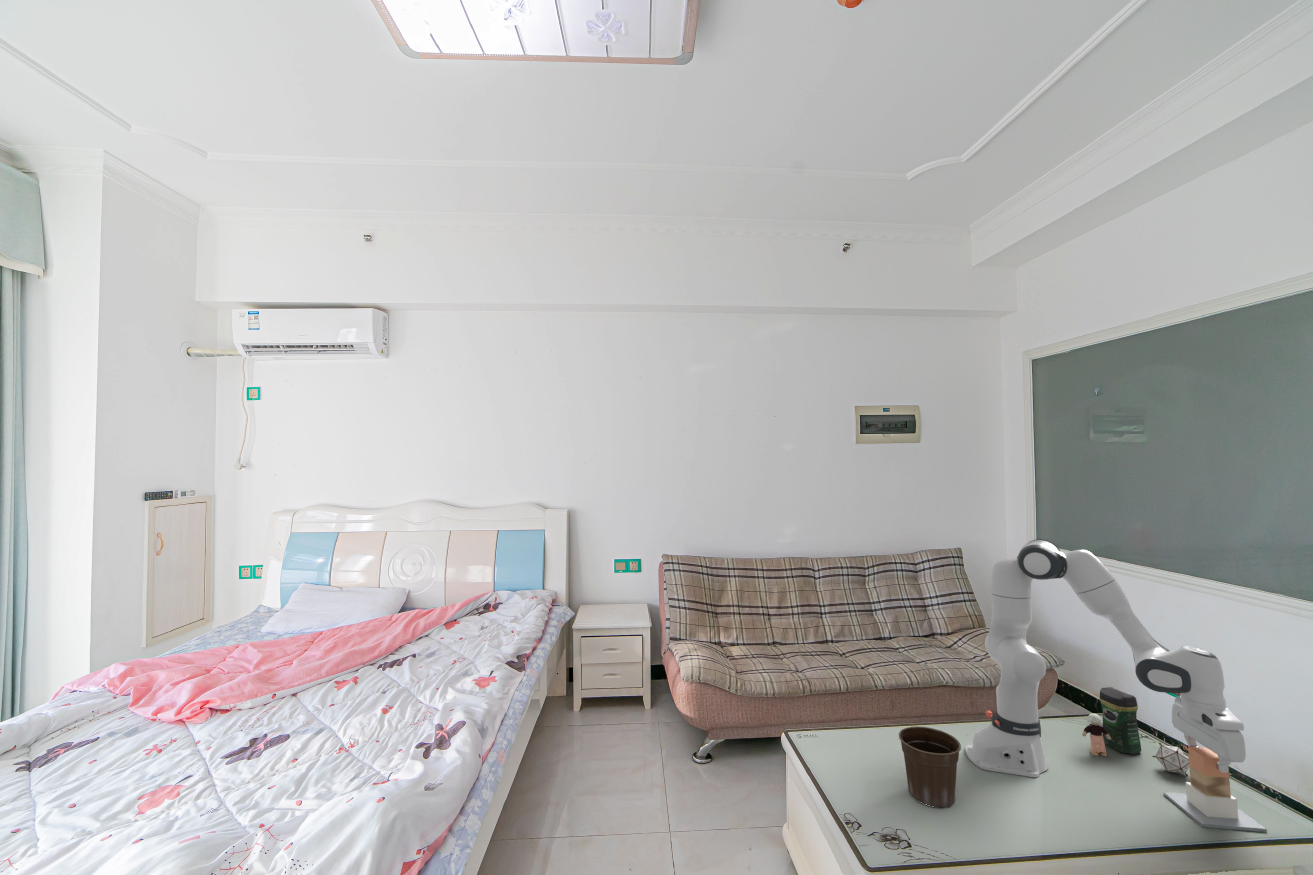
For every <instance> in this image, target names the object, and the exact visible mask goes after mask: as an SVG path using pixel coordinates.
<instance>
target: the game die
mask: <svg viewBox="0 0 1313 875" xmlns="http://www.w3.org/2000/svg"><path fill="white" fill-rule="evenodd" d="M1158 745H1160V746H1159V747H1158V748H1159V749H1158V750H1157V752H1156V755H1152V756H1151V757H1153V758H1155V759H1156V760H1157V761H1158V762H1159V763H1160V764H1161V766H1162V767H1163V768H1164V769H1165V775H1168V774H1169V772H1170V773H1178V774H1184V775H1185V776H1186V777H1189V775H1188V774H1187V772H1188V770H1189V756H1187V755H1186V753H1185V752H1184V751H1183V750H1182V748H1181V744H1177V746H1174V745H1173V746H1172V745H1165V744H1162V743H1161V742H1158Z"/></svg>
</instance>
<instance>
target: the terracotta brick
mask: <svg viewBox="0 0 1313 875" xmlns="http://www.w3.org/2000/svg"><path fill="white" fill-rule="evenodd" d="M1187 749H1188V750H1187V751H1188V758H1189V765H1190V766H1191V767H1193V768H1194V769H1196V770H1197V771H1198V772H1200V773H1201V774H1203V775H1204V776H1209V777H1224V778H1229V779H1230V769H1229V768H1230V767H1229V766H1230V765H1229V766H1228V773H1223V772H1221V771H1219V770H1218V769H1216V763H1219V760H1220V759H1219V758H1218V755H1217V754H1216V753H1214V752H1213V751H1211V750H1210V749H1208V748H1206V747H1205V746H1203V747H1201V746H1198V747H1188V746H1187Z"/></svg>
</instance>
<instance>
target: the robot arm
mask: <svg viewBox="0 0 1313 875" xmlns="http://www.w3.org/2000/svg"><path fill="white" fill-rule="evenodd" d="M1062 578H1063V579H1064V580H1065V581H1066V582H1067V584H1068V585H1069V586H1070V587H1071V589H1072V590H1073V592H1074V594H1076V596H1077V597H1078V598H1079V600H1080V602H1082V603H1083V605H1084V606H1085V607H1086V608H1087V609H1088V610H1090V612H1091V613H1092V614H1094V615H1096V616H1100V617H1102V618H1104V619H1106V620H1107V621H1109V622H1110V623H1111V624H1112V625H1113V626H1114V627H1115V629H1116V630H1117V631H1118V633H1119V634H1120V635H1121V636H1122V638H1123V639H1124V641H1125V642H1126V643H1127V644H1128V646H1129V648H1130V649H1131V651H1132V656H1133V660H1134V668H1135V675H1136V677H1137V680H1138V681H1139V682H1140V683H1141V684H1142V685H1143V686H1144V687H1145V688H1148V689H1149V690H1150V691H1154V692H1157V693H1163V694H1167V693H1169V694H1180V695H1179V696H1176V697H1175V698H1174V703H1173V704H1172V706H1171V723H1172V725H1173V727H1174V728H1175V729H1176V730H1179V731H1180V732H1181V733H1182V734H1183V737H1184V739H1185V741H1186V744H1187V748H1188V747H1199V746H1198V744H1197V743H1199V744H1200V745H1202V746H1203V747H1204V748H1208V749H1210V750H1211V751H1213V752H1214V753H1216V754H1217V755H1218V758H1219V759H1220V760H1219V763H1216V769H1218V770H1219V771H1221V772H1223V773H1228V766H1230V764H1231V763H1244V762H1245V760H1246V757H1247V754H1246V742H1245V738H1244V735H1243V733H1242V731H1244V730H1245V725H1244V722H1242V721H1241V719H1239V718H1238V717H1237V716H1235V715H1234V713H1233V712H1232V711H1231V710H1230V709H1229V708H1228V707H1227V702H1226V699H1225V697H1224V696H1225V695H1224V689H1225V679H1224V678H1225V677H1224V671H1223V667H1222V663H1221V662H1220V660H1219V657H1217V656H1216V655H1215V654H1213V653H1212V652H1211V651H1208V650H1206V649H1203V648H1200V647H1196V646H1192V645H1181V646H1180V647H1178V648H1175V649H1173V650H1170V649H1168V648H1167V647H1165V646H1164V645H1162V644H1160V643H1159V642H1158V641H1157V640H1155V639H1154V638H1153V636H1152V635H1151V634H1150V633H1149V631H1148V630H1147V628H1145V626H1144V625H1143V623H1142V622H1141V621H1140V619H1139V618H1138V617H1137V616H1136V614H1135V613H1134V611H1133V609H1132V606H1131V604H1130V602H1129V599H1128V597H1127V595H1126V593H1125V591H1124V590H1123V588H1122V586H1121V584H1120V583H1119V582H1118V580H1117V579H1116V578H1115V577H1114V575H1113V573H1111V571H1110V570H1109V569H1108V568H1107V567H1106V566H1105V565H1104V564H1103V563H1102V561H1101V560H1100V559H1099V558H1097V556H1095V555H1094V554H1093V553H1092V552H1090V551H1089V550H1087V549H1075V550H1071V551H1069V552H1062V551H1061V549H1060V548H1059V547H1058V545H1056V544H1055V543H1053V542H1052V541H1049V540H1047V539H1041V538H1040V539H1039V538H1038V539H1034V540H1033V539H1032V540H1030V541H1028V542H1027V543H1025V544H1024V545H1023V546H1022V547H1021V549H1020V550H1019V553H1018V555H1017V557H1016V558H1015V559H1003V560H999V561H996V563H995V564H994V565H993V568H992V572H991V578H990V579H991V580H990V582H991V584H990V596H991V599H990V600H991V621H990V626H989V631H988V634H987V635H986V636H985V639H984V646H985V649H986V651H987V653H988V656H990V658H991V659H992V661H993V662H995V663H996V664H998V665H999V668H1000V672H1001V673H1000V679H999V684H997V686H996V688H995V693H996V708H997V709H996V710H997V711H996V712H995V713H993V712H992V711H991V710H986V711H985V715H986V716H987V718H988V719H990V720H991V723H989V724H988V725H986V726H985V727H983V728H981V729H979V730H977V731H976V732H975V733H974V735H973V739H972V744H967V745H966V746H965V749H964V751H965V754H966V756H967V758H968V759H969V761H971V763H973V764H974V765H975V766H977V767H978V768H980V769H981V770H985V771H991V772H998V773H1004V774H1010V775H1018V776H1023V777H1031V778H1038V777H1040V774H1042V773H1044V772H1046V771H1047V770H1048V769H1049V766H1048V763H1047V760H1046V757H1045V754H1044V749H1043V745H1042V740H1041V737H1042V726H1041V720H1040V718H1039V710H1038V692H1039V685H1040V681H1041V680H1042V679H1043V678H1044V677H1045V675H1046V673H1047V664H1046V661H1045V660H1044V658H1043V657H1042V655H1041V654H1040V652H1039V651H1037V649H1035V648H1034V647H1033V646H1031V645H1030V644H1028V643H1027V642H1028V641H1027V634H1028V633H1027V632H1028V629H1029V627H1030V625H1032V622H1033V604H1032V603H1033V602H1032V601H1033V600H1032V582H1033V580H1039V581H1040V580H1041V581H1042V580H1044V581H1045V580H1055V579H1062Z"/></svg>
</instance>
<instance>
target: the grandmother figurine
mask: <svg viewBox="0 0 1313 875" xmlns="http://www.w3.org/2000/svg"><path fill="white" fill-rule="evenodd" d="M1087 718H1088V721H1089V722H1090V723H1091V724H1089V725H1087V726H1085V728H1083V731H1082V734H1081V735H1082V737H1086V736H1087V735H1088V734H1089V738H1090V739H1089V741H1090V750H1089V752H1090V754H1092V755H1093V756H1099V757H1100V756H1103V757H1108V754H1107V751H1106V744H1105V743H1104V739H1103V733H1104V734H1105V735H1106V737H1107V739H1109V740H1110V739H1111V737H1110V736H1109V734H1108V732H1107V731H1106V730H1105V729H1104V728H1103V725H1100V723H1102V718H1101V717H1100V715H1098V713H1093V712H1092V713H1089V715H1088V716H1087Z"/></svg>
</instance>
